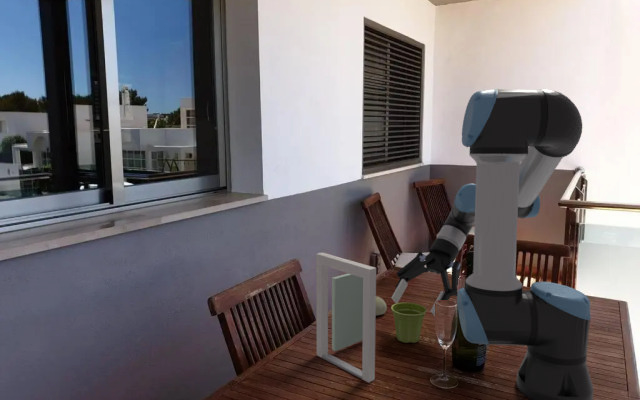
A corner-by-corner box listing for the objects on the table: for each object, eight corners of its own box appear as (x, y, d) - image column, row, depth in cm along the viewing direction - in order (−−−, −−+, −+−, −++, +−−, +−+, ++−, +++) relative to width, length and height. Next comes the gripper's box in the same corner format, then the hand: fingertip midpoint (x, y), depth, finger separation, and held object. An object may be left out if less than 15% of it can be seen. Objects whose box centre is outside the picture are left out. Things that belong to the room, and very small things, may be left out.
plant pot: (401, 328, 142) (402, 299, 141) (431, 337, 136) (432, 307, 135) (384, 339, 135) (384, 309, 134) (415, 349, 129) (415, 317, 128)
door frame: (374, 379, 114) (376, 267, 110) (368, 382, 113) (369, 269, 109) (322, 352, 128) (322, 252, 124) (316, 355, 126) (316, 253, 122)
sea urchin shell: (389, 301, 159) (387, 290, 153) (386, 324, 155) (384, 314, 148) (360, 298, 162) (357, 287, 155) (357, 321, 157) (353, 311, 151)
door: (364, 333, 137) (365, 266, 134) (371, 336, 135) (372, 268, 132) (328, 348, 128) (328, 276, 125) (335, 351, 126) (335, 278, 123)
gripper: (491, 260, 137) (457, 327, 130) (418, 244, 156) (385, 301, 149) (481, 245, 133) (445, 313, 126) (408, 230, 152) (373, 288, 144)
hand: (413, 307), depth 137 cm, fingers open, 13 cm apart
